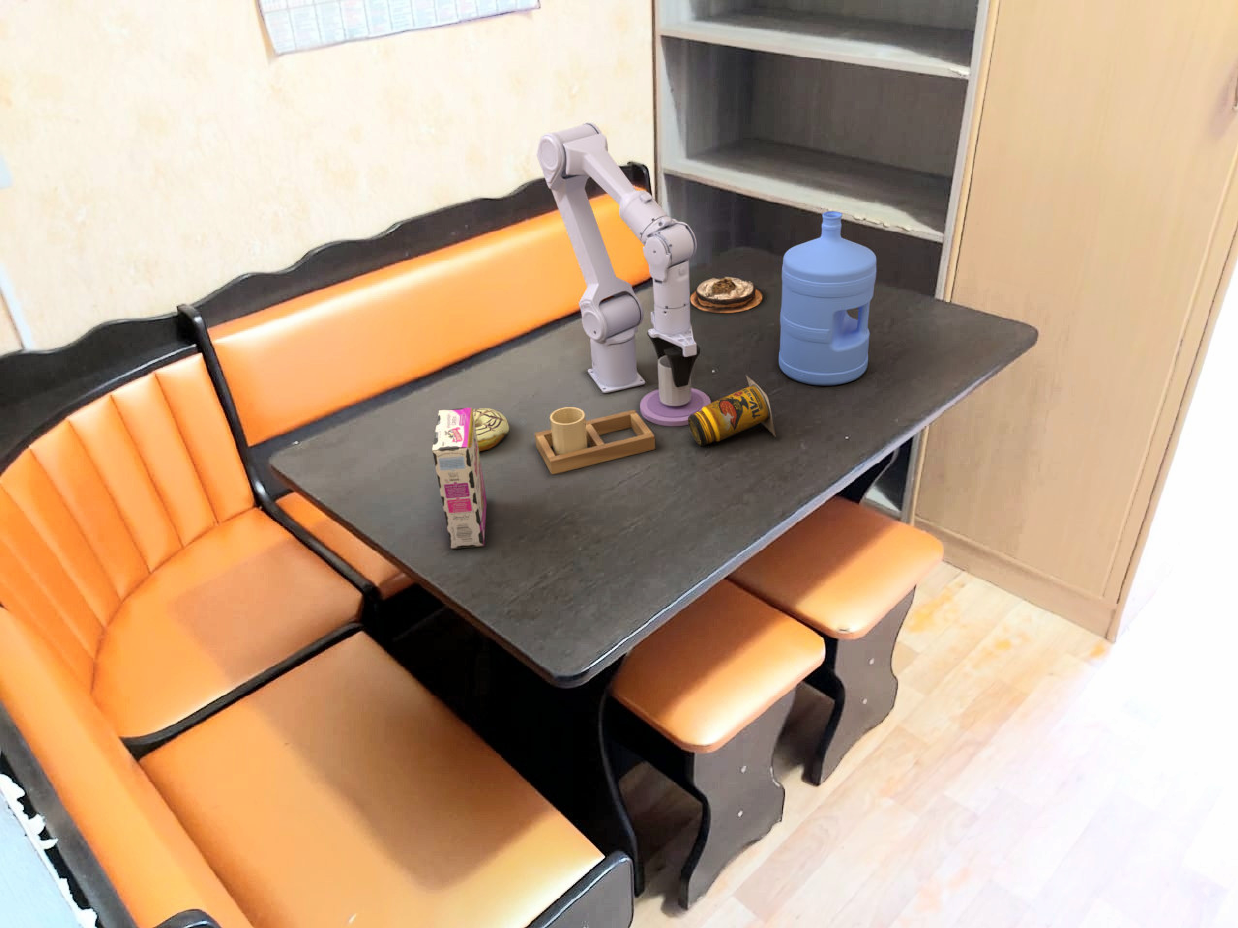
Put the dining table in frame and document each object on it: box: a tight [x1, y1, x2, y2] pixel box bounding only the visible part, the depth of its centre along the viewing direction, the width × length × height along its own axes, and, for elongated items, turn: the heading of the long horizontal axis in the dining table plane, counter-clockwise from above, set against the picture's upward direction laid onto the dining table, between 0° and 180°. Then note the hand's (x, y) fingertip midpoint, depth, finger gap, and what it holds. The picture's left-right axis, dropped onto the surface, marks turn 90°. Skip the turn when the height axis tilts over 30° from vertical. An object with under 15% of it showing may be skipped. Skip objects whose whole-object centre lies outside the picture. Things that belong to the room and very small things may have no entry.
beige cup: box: [549, 406, 589, 456], centre depth 145 cm, size 5×5×7 cm
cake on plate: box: [690, 276, 763, 314], centre depth 193 cm, size 15×15×4 cm
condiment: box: [688, 374, 777, 447], centre depth 146 cm, size 7×8×12 cm
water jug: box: [778, 210, 877, 387], centre depth 158 cm, size 16×16×28 cm
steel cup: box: [657, 355, 692, 406], centre depth 154 cm, size 5×5×7 cm
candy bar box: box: [431, 407, 488, 550], centre depth 128 cm, size 11×5×16 cm, turn 5°
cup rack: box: [534, 409, 656, 475], centre depth 147 cm, size 9×17×2 cm, turn 110°
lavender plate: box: [639, 387, 712, 427], centre depth 156 cm, size 12×12×1 cm
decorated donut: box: [472, 407, 510, 452], centre depth 151 cm, size 10×11×4 cm
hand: (674, 377), depth 153 cm, fingers closed on steel cup, 5 cm apart
